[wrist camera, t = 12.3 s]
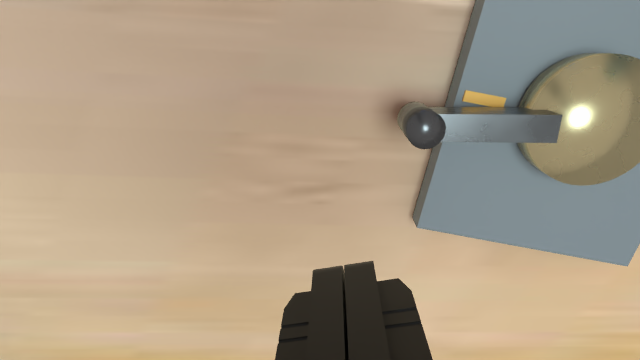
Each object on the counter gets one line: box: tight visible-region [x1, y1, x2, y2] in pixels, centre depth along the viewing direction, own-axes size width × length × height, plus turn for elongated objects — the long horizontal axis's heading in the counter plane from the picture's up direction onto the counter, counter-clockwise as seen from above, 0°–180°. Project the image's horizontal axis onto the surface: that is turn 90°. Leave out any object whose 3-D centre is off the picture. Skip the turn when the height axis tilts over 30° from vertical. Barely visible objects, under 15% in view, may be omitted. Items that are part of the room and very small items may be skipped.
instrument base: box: [413, 0, 640, 266], centre depth 28 cm, size 22×18×4 cm
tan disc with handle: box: [397, 53, 640, 186], centre depth 26 cm, size 18×9×5 cm, turn 90°
